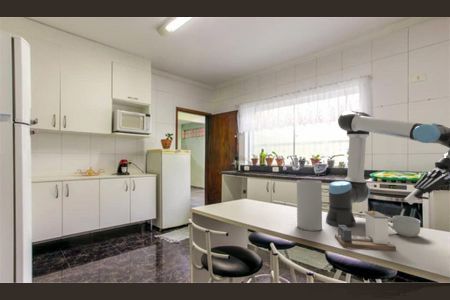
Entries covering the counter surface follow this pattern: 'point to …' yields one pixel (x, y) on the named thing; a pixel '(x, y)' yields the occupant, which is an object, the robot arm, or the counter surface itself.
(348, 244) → the board
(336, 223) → the robot arm
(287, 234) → the counter surface
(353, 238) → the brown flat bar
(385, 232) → the white rectangular container
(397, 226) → the teacup
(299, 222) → the cylinder vase
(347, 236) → the end clamp
